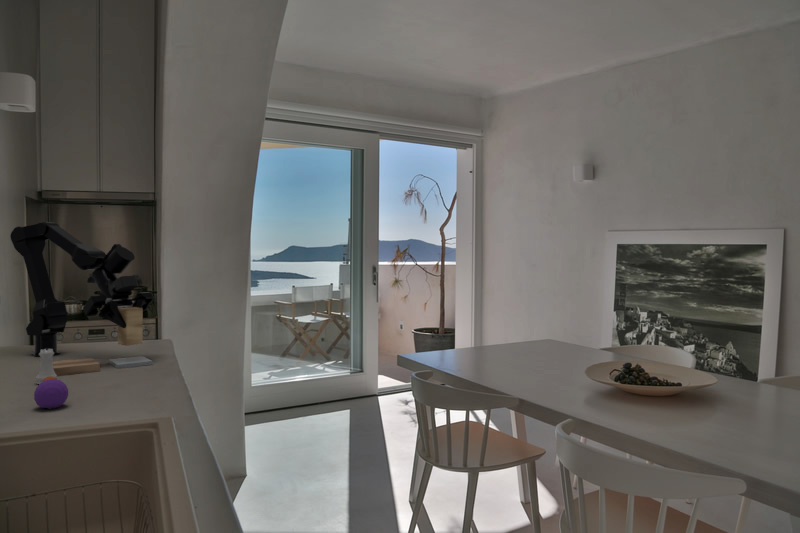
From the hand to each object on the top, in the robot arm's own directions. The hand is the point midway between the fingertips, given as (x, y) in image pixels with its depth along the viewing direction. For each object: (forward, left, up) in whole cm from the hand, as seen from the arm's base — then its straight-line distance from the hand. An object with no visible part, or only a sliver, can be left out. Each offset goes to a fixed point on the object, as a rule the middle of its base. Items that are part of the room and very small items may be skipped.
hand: (133, 326), depth 161 cm
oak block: (-1, 0, -5) cm, 5 cm away
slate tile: (-1, 0, -11) cm, 11 cm away
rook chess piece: (+11, -22, -11) cm, 27 cm away
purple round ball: (+29, -24, -11) cm, 39 cm away
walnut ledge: (-1, -15, -11) cm, 18 cm away
